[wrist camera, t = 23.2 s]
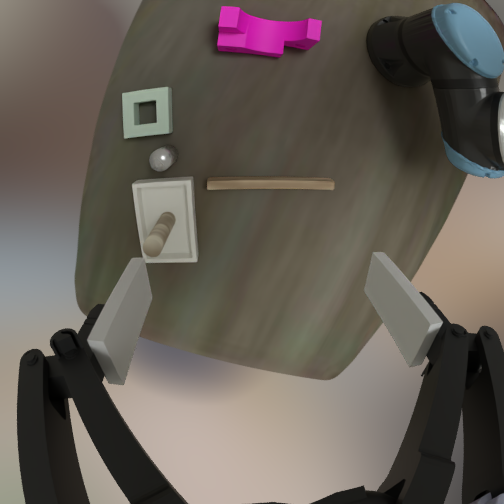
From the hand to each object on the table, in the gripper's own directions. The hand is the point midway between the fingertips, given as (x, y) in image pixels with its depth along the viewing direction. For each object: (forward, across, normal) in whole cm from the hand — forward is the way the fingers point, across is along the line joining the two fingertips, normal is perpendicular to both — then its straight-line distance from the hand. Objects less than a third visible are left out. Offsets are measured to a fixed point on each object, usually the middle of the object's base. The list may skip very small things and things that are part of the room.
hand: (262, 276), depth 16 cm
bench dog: (+37, -13, +2) cm, 39 cm away
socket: (+37, -16, +10) cm, 41 cm away
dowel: (+36, -14, -10) cm, 40 cm away
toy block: (+37, +4, +23) cm, 44 cm away
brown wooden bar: (+37, +5, -3) cm, 37 cm away
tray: (+37, -14, -10) cm, 41 cm away
